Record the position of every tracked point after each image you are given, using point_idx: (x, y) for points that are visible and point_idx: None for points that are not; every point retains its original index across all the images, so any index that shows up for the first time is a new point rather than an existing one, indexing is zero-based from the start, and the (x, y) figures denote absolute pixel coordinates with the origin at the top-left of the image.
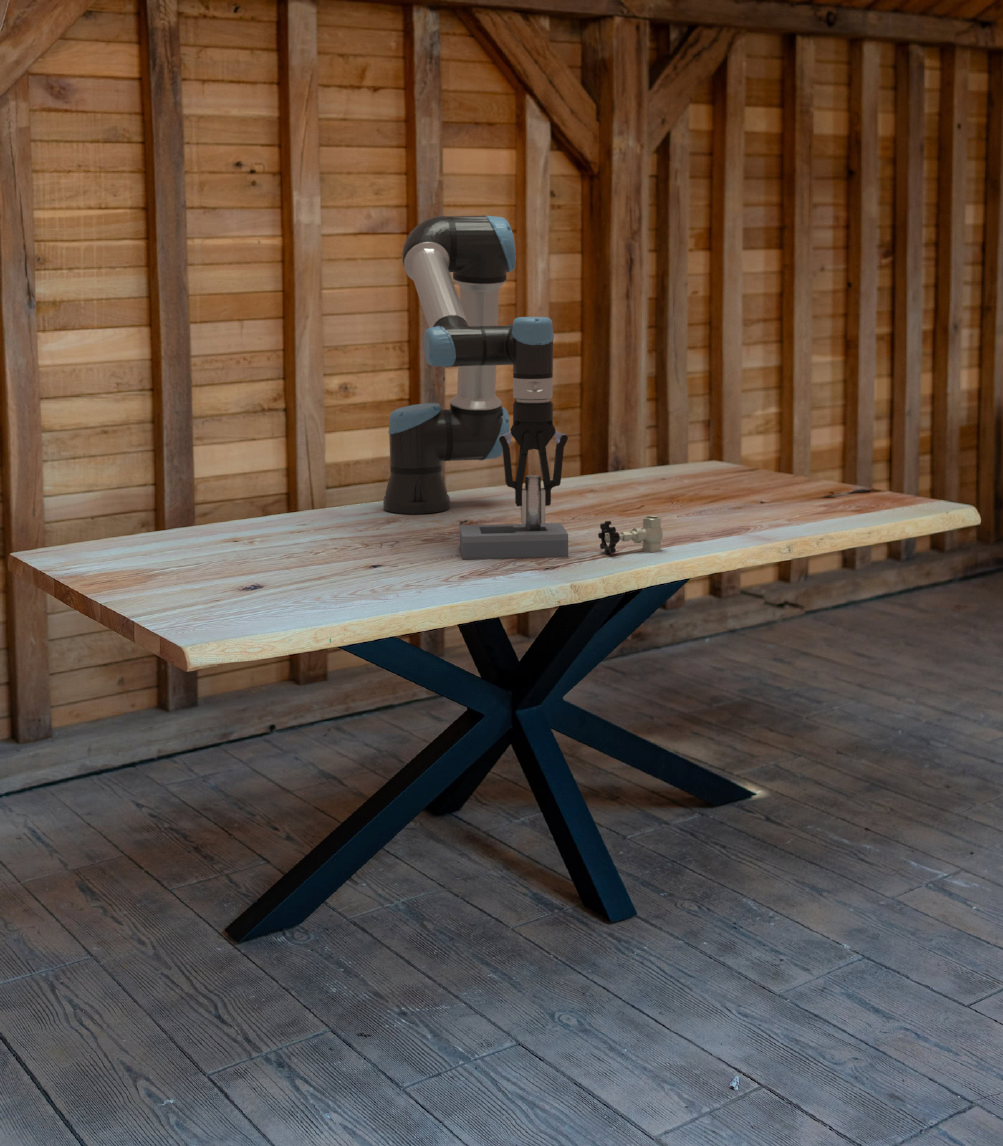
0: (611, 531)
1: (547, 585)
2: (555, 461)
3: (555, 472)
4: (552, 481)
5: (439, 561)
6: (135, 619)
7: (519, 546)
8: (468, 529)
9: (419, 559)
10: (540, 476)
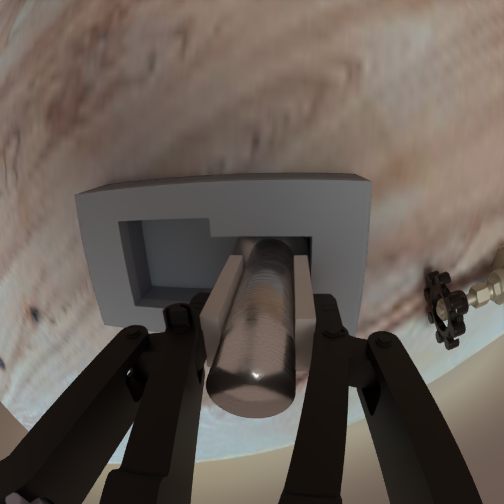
0: (446, 346)
1: (268, 446)
2: (393, 456)
3: (370, 428)
4: (352, 384)
5: (94, 305)
6: (3, 404)
7: None
8: (99, 251)
9: (65, 284)
10: (292, 397)
